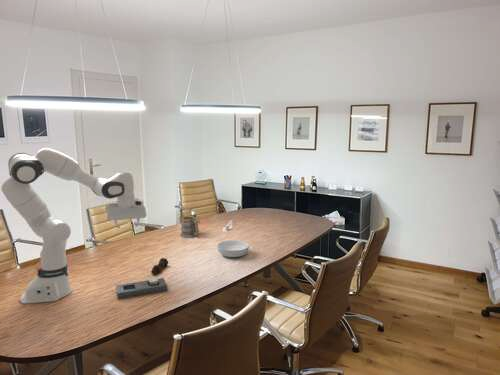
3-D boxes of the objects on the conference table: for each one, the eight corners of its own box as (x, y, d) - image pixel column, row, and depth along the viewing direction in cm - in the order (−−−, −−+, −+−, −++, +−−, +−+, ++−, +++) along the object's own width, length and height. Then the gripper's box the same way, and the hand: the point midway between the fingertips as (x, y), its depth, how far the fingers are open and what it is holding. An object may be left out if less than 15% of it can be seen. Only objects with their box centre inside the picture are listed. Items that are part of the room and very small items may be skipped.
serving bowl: (223, 262, 229) (223, 252, 227) (213, 252, 247) (212, 242, 246) (254, 257, 237) (254, 247, 236) (241, 248, 256) (241, 238, 255)
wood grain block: (150, 291, 189) (149, 281, 188) (149, 287, 192) (148, 278, 191) (158, 289, 190) (157, 280, 189) (157, 286, 194) (156, 277, 193)
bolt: (152, 278, 209) (163, 267, 223) (159, 274, 208) (169, 264, 222) (147, 269, 208) (158, 259, 223) (154, 266, 207) (165, 256, 222)
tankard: (177, 235, 286) (177, 216, 283) (191, 232, 294) (190, 214, 292) (192, 241, 271) (191, 221, 269) (206, 237, 280) (205, 218, 277)
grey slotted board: (117, 299, 180) (117, 293, 179) (116, 290, 189) (116, 285, 188) (167, 290, 189) (167, 285, 188) (163, 283, 198) (163, 277, 197)
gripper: (105, 204, 191) (107, 230, 193) (146, 201, 199) (147, 226, 201) (105, 202, 197) (106, 227, 199) (144, 199, 205) (145, 223, 207)
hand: (127, 227), depth 200 cm, fingers open, 8 cm apart
